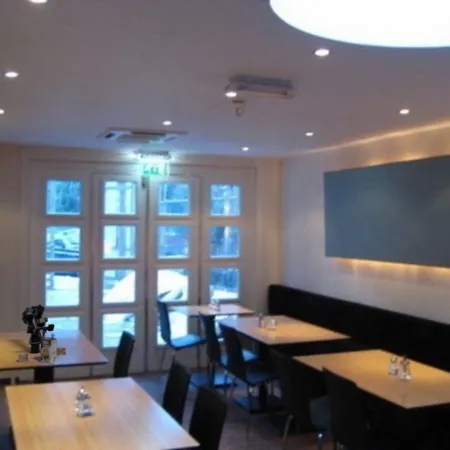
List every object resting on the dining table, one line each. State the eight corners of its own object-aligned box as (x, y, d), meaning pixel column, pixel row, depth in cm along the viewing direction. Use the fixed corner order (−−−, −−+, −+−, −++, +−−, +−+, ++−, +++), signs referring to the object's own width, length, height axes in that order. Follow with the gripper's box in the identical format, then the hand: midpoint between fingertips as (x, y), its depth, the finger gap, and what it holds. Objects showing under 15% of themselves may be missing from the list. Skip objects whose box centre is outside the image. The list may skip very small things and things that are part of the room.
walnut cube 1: (20, 360, 415) (20, 353, 415) (28, 360, 415) (28, 353, 415) (18, 362, 410) (18, 354, 410) (25, 362, 410) (25, 354, 410)
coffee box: (40, 362, 410) (40, 338, 410) (46, 360, 416) (46, 337, 416) (50, 363, 407) (50, 339, 407) (57, 361, 413) (57, 338, 412)
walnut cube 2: (61, 353, 437) (61, 346, 436) (65, 354, 434) (65, 347, 434) (55, 355, 432) (55, 347, 432) (60, 356, 430) (60, 348, 429)
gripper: (27, 314, 423) (31, 333, 414) (53, 312, 433) (58, 330, 424) (24, 324, 430) (28, 342, 421) (50, 321, 440) (55, 339, 431)
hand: (42, 338), depth 424 cm, fingers closed
